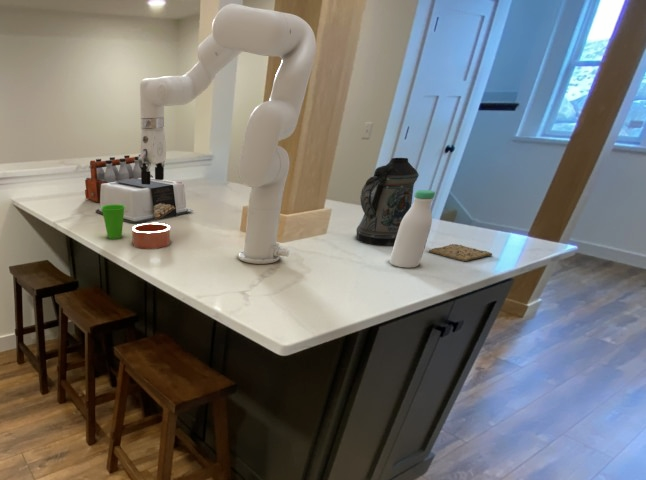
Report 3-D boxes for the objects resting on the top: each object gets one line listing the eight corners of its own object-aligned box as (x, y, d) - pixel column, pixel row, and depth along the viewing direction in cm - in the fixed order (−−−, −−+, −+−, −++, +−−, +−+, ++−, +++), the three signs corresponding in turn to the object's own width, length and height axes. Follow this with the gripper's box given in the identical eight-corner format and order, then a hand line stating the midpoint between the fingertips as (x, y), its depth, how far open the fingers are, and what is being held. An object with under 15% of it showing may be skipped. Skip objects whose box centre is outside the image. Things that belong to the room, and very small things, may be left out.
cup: (123, 240, 165) (122, 209, 159) (100, 240, 166) (97, 209, 160) (128, 234, 172) (127, 204, 166) (106, 234, 174) (104, 204, 168)
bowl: (176, 240, 162) (176, 225, 159) (159, 250, 152) (158, 234, 149) (144, 237, 168) (143, 221, 165) (125, 246, 158) (125, 230, 155)
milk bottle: (417, 269, 126) (441, 194, 115) (387, 266, 130) (408, 192, 119) (419, 262, 131) (442, 189, 120) (390, 258, 135) (410, 187, 124)
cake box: (194, 212, 199) (195, 182, 193) (134, 224, 184) (133, 192, 178) (148, 201, 224) (148, 174, 217) (92, 212, 209) (89, 183, 202)
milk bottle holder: (81, 200, 235) (77, 159, 225) (134, 190, 252) (133, 152, 242) (103, 205, 221) (100, 162, 210) (157, 195, 238) (157, 155, 227)
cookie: (427, 251, 139) (428, 248, 138) (454, 245, 143) (455, 242, 142) (465, 261, 130) (466, 258, 129) (492, 255, 133) (494, 252, 133)
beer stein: (414, 237, 152) (439, 156, 139) (396, 251, 141) (421, 164, 127) (364, 231, 162) (382, 154, 149) (343, 243, 151) (361, 161, 137)
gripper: (149, 126, 136) (150, 186, 145) (174, 122, 148) (173, 178, 158) (128, 126, 139) (130, 185, 149) (154, 122, 151) (154, 177, 161)
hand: (152, 181), depth 153 cm, fingers open, 9 cm apart
